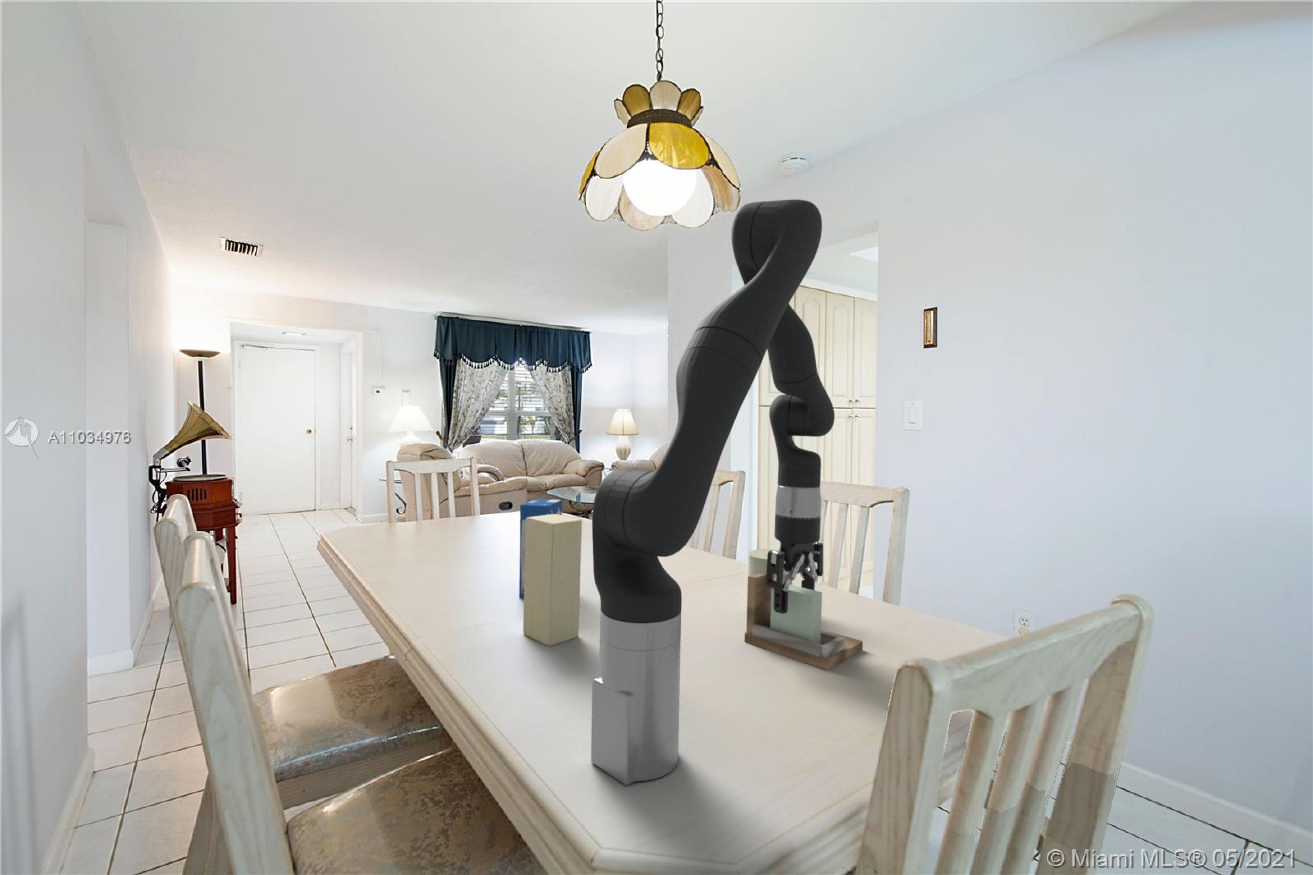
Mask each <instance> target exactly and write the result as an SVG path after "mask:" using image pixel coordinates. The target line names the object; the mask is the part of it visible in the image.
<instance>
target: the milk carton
mask: <svg viewBox="0 0 1313 875" xmlns="http://www.w3.org/2000/svg"><path fill="white" fill-rule="evenodd" d="M519 512H520V513H519V519H520V520H519V528H520V529H519V580H518V581H519V583H518V584H519V586H518V587H519V588H518V590H519V595H518V596H519V599H524V577H525V537H526V518H527V517H534V516H542V515H550V514H558V515H562V516H563V499H555V498H554V499H553V498H552V499H551V498H534V499H532V500H528V501H526V502H523V503H522V504H520V507H519Z"/></svg>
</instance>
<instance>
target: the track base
mask: <svg viewBox="0 0 1313 875" xmlns="http://www.w3.org/2000/svg"><path fill="white" fill-rule="evenodd" d="M766 572H767V571H764V572H761V573H757V574H754V575H751V576H747V595H746V596H747V597H746V632H745V633H744V642H745V643H748V644H751V645H754V646H756V647H758V648H759V647H760V648H763V649H765V650H768V651H771V652H773V653H777V654H779V655H782V656H784V657H785V656H786V657H788V658H791V659H793V660H796V661H799V662H803V663H805V664H808V665H811V666H815V667H817V668H820V669H823V670H825V671H828V670H831V669H832V668H834V667H835V666H837V664H838V665H839V664H841V663H843V662H844V661H846V660H848V659H850V658H851V657H853V656H855V655H856V654H858V653H860V652H861V651H860V650H862V651H863V650H864V649H863V648H864V641H863V640H859V639H856V638H854V637H853V638H852V637H850V636H846V635H842V634H840V633H836V632H834V631H829V630H826V629H822V628H821V644H819V643H816V642H813V641H810V640H806V639H803V638H800V637H797V636H794V635H791V634H787V633H784V632H781V631H778V630H775V629H771V628H770V618H771V588H770V587H767V586H766ZM772 580H774V573H773V578H772ZM859 651H860V652H859ZM857 652H858V653H857ZM852 655H853V656H852ZM849 657H850V658H849ZM845 659H846V660H845ZM842 661H843V662H842Z"/></svg>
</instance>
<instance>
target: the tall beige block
mask: <svg viewBox="0 0 1313 875" xmlns="http://www.w3.org/2000/svg"><path fill="white" fill-rule="evenodd" d="M582 526H583V522H582V519H579V518H574V517H571V516H565V515H563V514H562V515H558V514H550V515H542V516H534V517H527V518H526V537H525V577H524V598H523V623H522V631H523V635H524V636H527V637H529V638H531V639H533V640H535V641H537V642H540V643H541V644H544V645H546V646H549V647H550V646H554V645H558V644H560V643H564V642H566V641H569V640H572V639H576V638H578V637H579V635H580V634H579V632H580V630H579V629H580V598H581V595H580V594H581V593H580V592H581V560H582V559H581V558H582V557H581V556H582V532H583V530H582V528H583V527H582Z"/></svg>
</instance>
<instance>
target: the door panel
mask: <svg viewBox="0 0 1313 875" xmlns="http://www.w3.org/2000/svg"><path fill="white" fill-rule="evenodd" d="M822 602H823V592H822V591H819V590H815V591H814V590H810V589H806V588H802V587H801V586H798V585H793V584H792V585H790V586H789V588H788V611H787V613H785V614H781V613H778V612H775V611H774V589H773V588H771V618H770V628H771V629H775V630H778V631H781V632H784V633H787V634H791V635H794V636H797V637H800V638H803V639H806V640H810V641H813V642H816V643H819V644H821V629H822V610H823V609H822V607H823V606H822V604H823V603H822Z"/></svg>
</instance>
